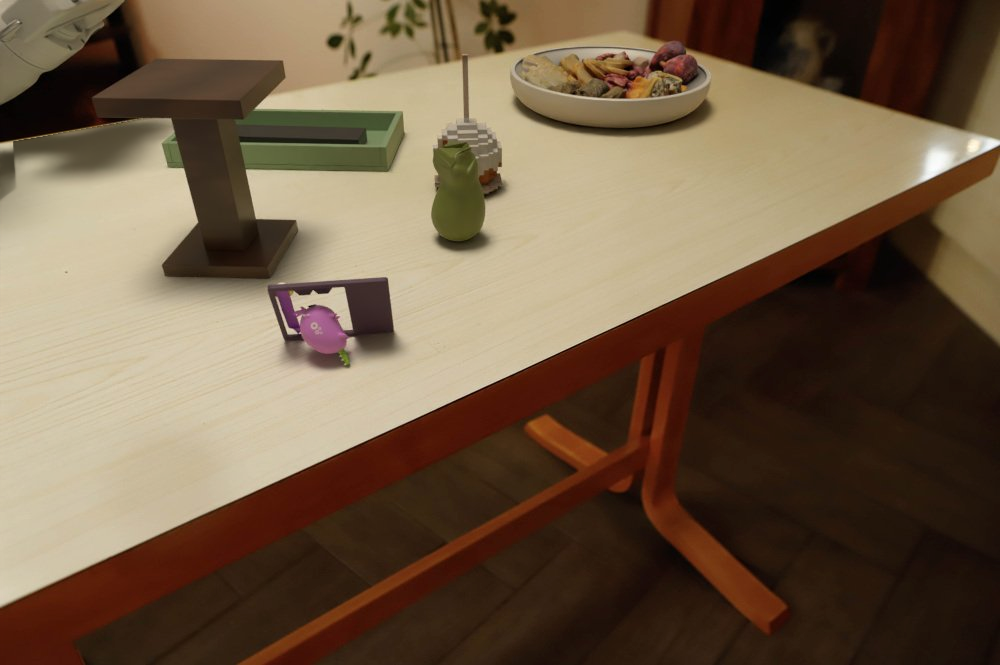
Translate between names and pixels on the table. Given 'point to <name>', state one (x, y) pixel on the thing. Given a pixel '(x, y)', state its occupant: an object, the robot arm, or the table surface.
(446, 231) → the green rounded figure
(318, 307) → the pop-out character card
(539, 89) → the bowl
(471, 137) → the decorative ornament
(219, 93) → the walnut stand
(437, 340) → the table surface
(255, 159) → the green tray
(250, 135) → the black rectangular bar
